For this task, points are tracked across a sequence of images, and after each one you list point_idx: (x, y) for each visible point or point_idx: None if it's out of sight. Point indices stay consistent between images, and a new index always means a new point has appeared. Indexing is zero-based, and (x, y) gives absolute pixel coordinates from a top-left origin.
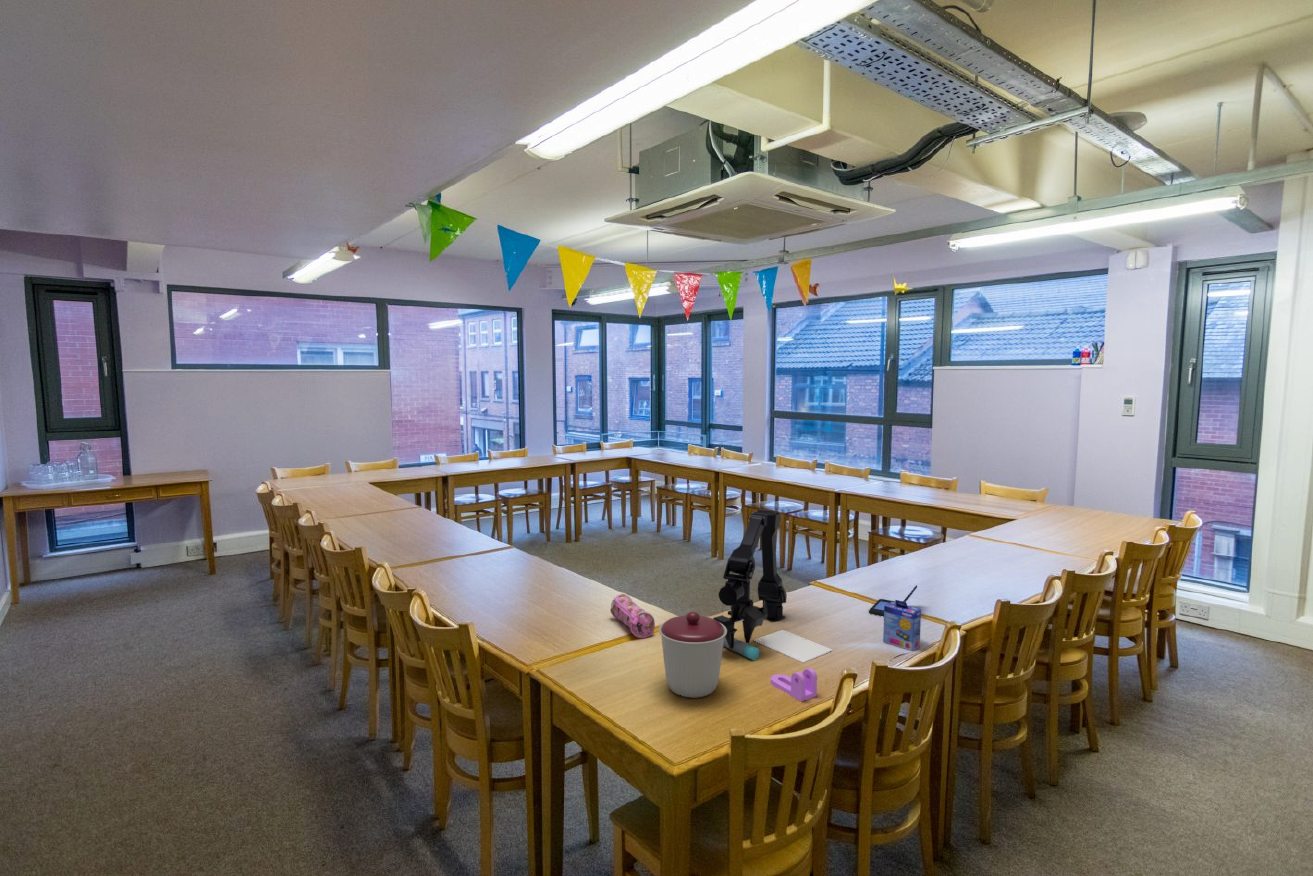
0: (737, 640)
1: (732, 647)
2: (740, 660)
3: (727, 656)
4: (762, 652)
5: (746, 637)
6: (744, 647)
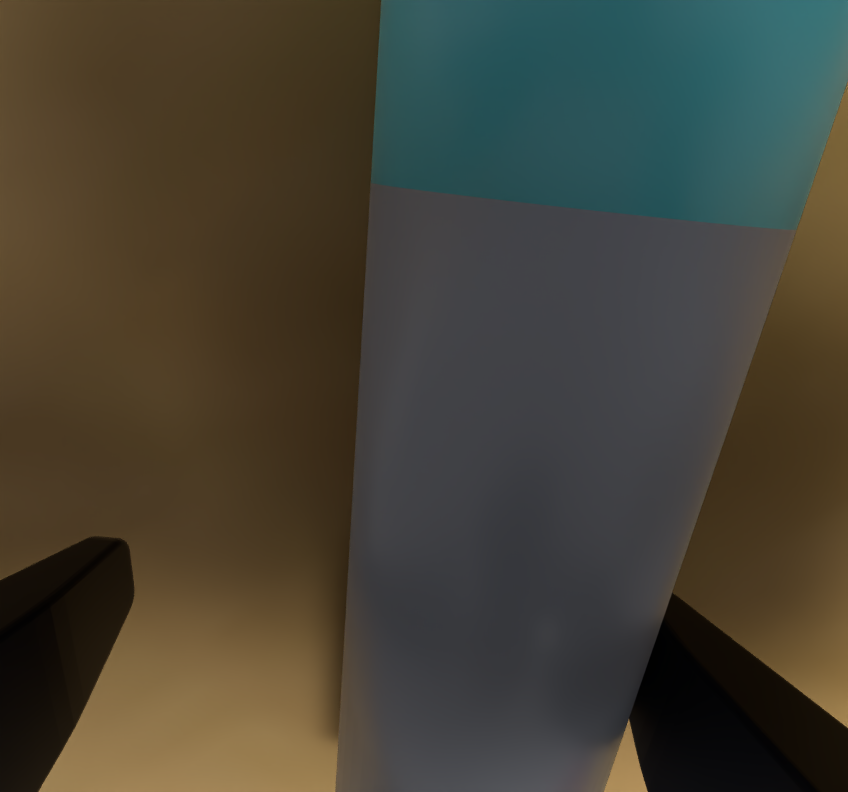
0: (542, 713)
1: (674, 599)
2: (826, 184)
3: (791, 493)
4: (44, 87)
5: (47, 693)
6: (781, 259)
